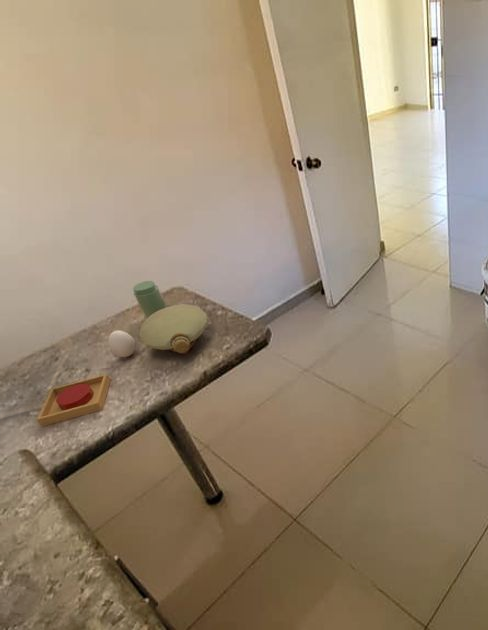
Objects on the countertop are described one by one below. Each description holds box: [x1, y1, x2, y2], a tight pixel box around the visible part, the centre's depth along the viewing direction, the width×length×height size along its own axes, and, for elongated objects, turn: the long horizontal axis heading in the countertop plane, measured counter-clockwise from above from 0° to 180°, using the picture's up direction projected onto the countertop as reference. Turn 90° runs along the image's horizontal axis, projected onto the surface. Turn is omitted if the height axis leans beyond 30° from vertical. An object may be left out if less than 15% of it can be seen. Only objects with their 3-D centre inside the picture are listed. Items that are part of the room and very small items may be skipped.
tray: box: [36, 373, 112, 428], centre depth 96 cm, size 11×10×2 cm
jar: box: [132, 280, 168, 320], centre depth 120 cm, size 6×6×10 cm
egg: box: [107, 330, 136, 358], centre depth 107 cm, size 5×5×7 cm
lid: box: [56, 384, 94, 410], centre depth 95 cm, size 6×6×2 cm
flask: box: [139, 303, 208, 355], centre depth 109 cm, size 9×16×18 cm
